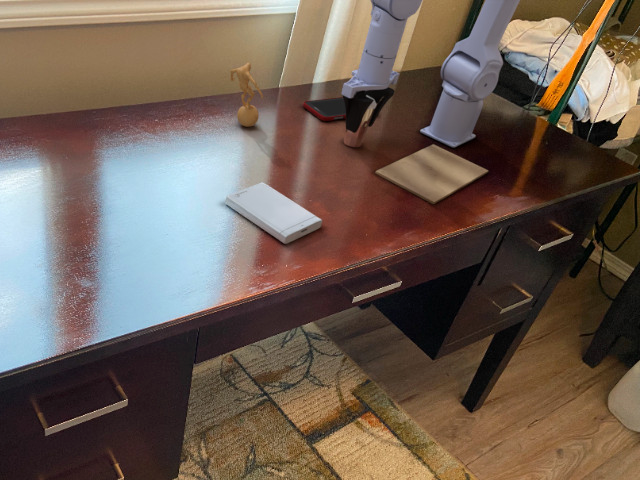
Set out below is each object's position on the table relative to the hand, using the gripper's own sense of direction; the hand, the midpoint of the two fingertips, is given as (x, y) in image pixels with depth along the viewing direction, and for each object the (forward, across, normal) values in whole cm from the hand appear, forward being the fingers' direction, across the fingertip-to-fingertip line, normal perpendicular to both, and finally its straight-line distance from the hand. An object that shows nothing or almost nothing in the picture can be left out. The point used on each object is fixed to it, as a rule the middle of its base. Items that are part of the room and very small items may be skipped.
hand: (358, 127), depth 112 cm
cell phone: (+3, -10, -11) cm, 15 cm away
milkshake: (+4, 0, 0) cm, 4 cm away
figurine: (+4, +14, -16) cm, 22 cm away
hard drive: (+4, +32, +8) cm, 33 cm away
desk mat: (+3, -4, +15) cm, 16 cm away
